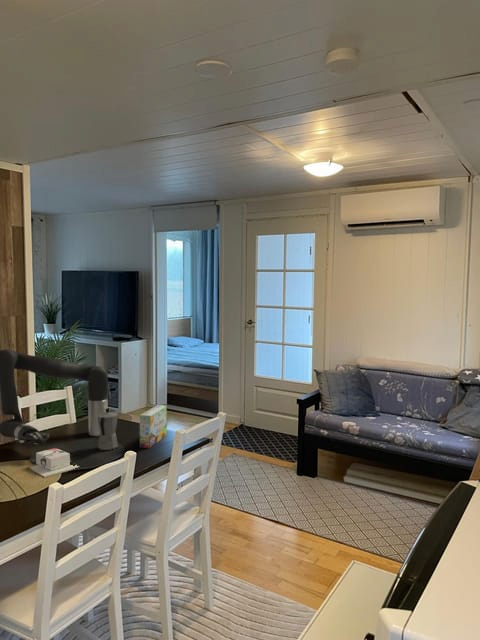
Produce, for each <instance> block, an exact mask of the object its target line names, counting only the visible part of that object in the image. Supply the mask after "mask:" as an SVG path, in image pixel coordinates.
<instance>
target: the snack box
mask: <svg viewBox="0 0 480 640" xmlns="http://www.w3.org/2000/svg"><path fill="white" fill-rule="evenodd" d="M167 413H168V412H167V405H162V404H161V405H160V404H158V405H157V404H156V405H155V406H153V407H152V408H150V409H148V410H146V411H145V412H143V413H141V414H140V415H139V448H142V449H151V448H152V447H153V446H154V445H155V444H156V445H157V443H158V442H159V441H161V440H162V439H163V438H165V437H166V436H167V418H168V417H167V415H168V414H167Z"/></svg>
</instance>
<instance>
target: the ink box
mask: <svg viewBox="0 0 480 640" xmlns="http://www.w3.org/2000/svg"><path fill="white" fill-rule="evenodd" d="M35 461H36V462H35V463H36V464H35V465H40V466H42V467H44V468H46V469H48V470H50V471H52V470H56V469H59V468H62V467H66V466H69V465H70V462H71V454H70V453H69V452H67V451H64V450H61V449H59V448H57V447H53V448H50V449H46V450H42V451H38V452H35Z"/></svg>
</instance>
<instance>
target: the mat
mask: <svg viewBox="0 0 480 640" xmlns="http://www.w3.org/2000/svg"><path fill="white" fill-rule="evenodd" d="M77 465H78V464H76V465H75V466H73V465H69V466H66V467H62V468H59V469H56V470H52V471H50V470H48V469H46V468H44V467H42V466H40V465H38V464H35V465H32V466H29V469H30V470H32V471H33V472H35V473H37V474H39V475H40V476H42V477H43V478H48V477H52V476H56V475H59V474H62V473H67V472H69V471H74V470H76V469H75V468H78V467H80V466H79V465H78V466H77ZM73 469H74V470H73ZM78 469H79V468H78Z"/></svg>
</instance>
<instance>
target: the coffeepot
mask: <svg viewBox="0 0 480 640" xmlns="http://www.w3.org/2000/svg"><path fill="white" fill-rule="evenodd" d="M97 417H98V423H99V430H100V435H99V436H98V437H99V438H98V443H97V449H98V448H102V449H111V448H115V447H118V448H119V445H118V443H119V442H118V439H117V434H116V429H117V427H118V426H117V425H118V417H119V414H118V413H117V412H113V411H110V408H107V409H106V412H105V413H101V414H98V415H97Z"/></svg>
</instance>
